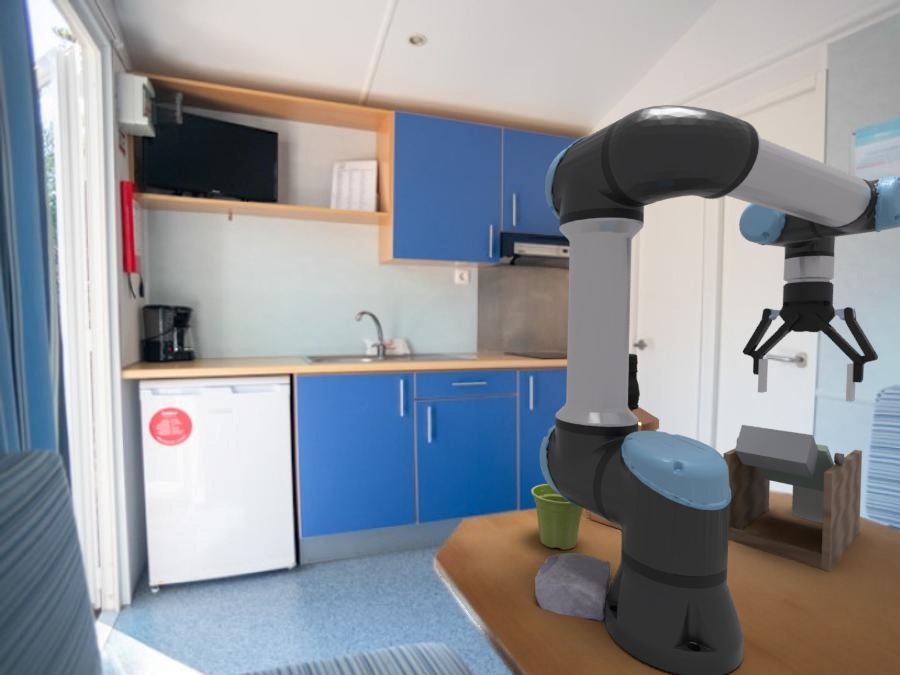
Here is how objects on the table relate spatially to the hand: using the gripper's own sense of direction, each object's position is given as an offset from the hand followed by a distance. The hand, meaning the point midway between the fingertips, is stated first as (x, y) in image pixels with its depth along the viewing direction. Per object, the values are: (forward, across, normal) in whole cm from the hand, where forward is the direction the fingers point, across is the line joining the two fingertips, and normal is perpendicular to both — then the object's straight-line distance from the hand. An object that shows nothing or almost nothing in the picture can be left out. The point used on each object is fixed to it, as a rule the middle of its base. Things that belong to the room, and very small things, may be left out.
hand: (803, 396), depth 91 cm
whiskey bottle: (+25, +23, +22) cm, 41 cm away
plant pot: (+25, +25, +40) cm, 54 cm away
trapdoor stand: (+25, 0, +5) cm, 25 cm away
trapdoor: (+15, 0, +10) cm, 18 cm away
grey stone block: (+16, 0, -8) cm, 18 cm away
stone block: (+26, +14, +52) cm, 60 cm away
